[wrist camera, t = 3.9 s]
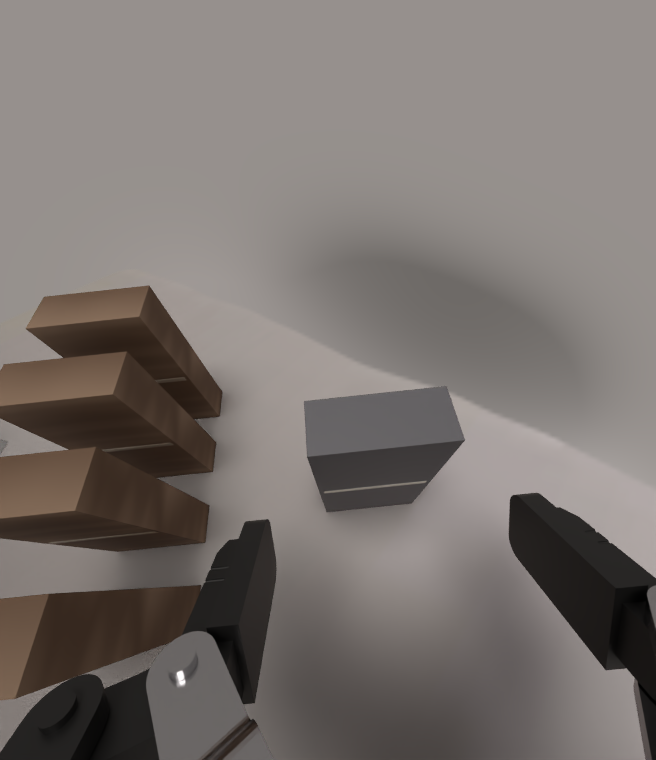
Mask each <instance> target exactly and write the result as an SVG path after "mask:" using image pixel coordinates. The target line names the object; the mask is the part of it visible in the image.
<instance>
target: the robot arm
mask: <svg viewBox="0 0 656 760" xmlns="http://www.w3.org/2000/svg"><path fill="white" fill-rule="evenodd" d="M509 540H510V544H511V547H512V550H513V552H514V554H515V555H516V557H517V558H518V560H519V561H520V562H521V563H522V565H523V566H524V567H525V569H526V570H527V571H528V572H529V574H530V575H531V576H532V577H533V579H534V580H535V581H536V582H537V584H538V585H539V586H540V588H541V589H542V590H543V591H544V593H545V594H546V595H547V596H548V598H549V599H550V600H551V601H552V603H553V604H554V605H555V607H556V608H557V609H558V610H559V612H560V613H561V614H562V615H563V617H564V618H565V619H566V620H567V622H568V623H569V624H570V626H571V627H572V628H573V629H574V631H575V632H576V633H577V634H578V636H579V637H580V638H581V639H582V641H583V642H584V643H585V645H586V646H587V647H588V648H589V650H590V651H591V652H592V653H593V655H594V656H595V657H596V658H597V660H598V661H599V662H600V664H601V665H602V666H603V667H604V669H605V670H613V669H624V668H627V669H628V670H629V672H630V673H631V674H632V675H633V676H634V677H635V679H634V695H635V701H636V707H637V712H638V718H639V724H640V730H641V736H642V742H643V748H644V753H645V759H646V760H656V578H655V577H653V576H652V575H651V574H650V573H648V572H647V571H646V570H645V569H643V568H642V567H641V566H640V565H638V564H637V563H636V562H635V561H633V560H632V559H631V558H630V557H628V556H627V555H626V554H625V553H623V552H622V551H621V550H620V549H618V548H617V547H616V546H615V545H613V544H612V543H609V541H608V540H607V539H606V538H605V537H603V536H602V535H601V534H600V533H598V532H597V533H596V531H595V529H594V528H592V527H591V526H590V525H589V524H587V523H586V522H585V521H584V520H582V519H581V518H580V517H578V516H576V515H574V514H572V513H570V512H568V511H566V510H564V509H562V508H560V507H559V508H556V507H555V506H554V505H553V504H551V503H550V502H549V501H548V500H547V499H546V498H544V497H543V496H542V495H541V494H539V493H530V494H520V495H513V496H512V497H511V499H510V515H509ZM275 581H276V557H275V551H274V544H273V538H272V532H271V526H270V522H269V520H268V519H266V520H256V521H246V522H245V523H244V526H243V528H242V531H241V534H240V537H239V539H235V540H229V541H228V542H227V543H226V544H225V545H224V546H223V547H222V548H221V549H220V550H219V552H218V553H217V555H216V557H215V559H214V561H213V564H212V566H211V570H210V571H209V573H208V575H207V578H206V582H205V583H204V585H203V587H202V589H201V591H200V594H199V596H198V598H197V601H196V603H195V605H194V608H193V610H192V612H191V615H190V617H189V619H188V622H187V624H186V626H185V628H184V631H183V633H182V635H181V636H180V637H178V638H176V639H175V640H173V641H172V642H171V643H169V644H168V645H167V646H166V647H165V648H164V649H163V650H162V651H161V652H160V653H159V655H158V656H157V657H156V659H155V660H154V662H153V664H152V665H151V667H150V669H148V670H146V671H144V672H142V673H140V674H138V675H136V676H133V677H131V678H129V679H126V680H124V681H122V682H119V683H117V684H115V685H112V686H110V687H108V688H105V689H104V687H103V684H102V681H101V679H100V678H99V677H97V676H95V675H91V674H86V675H80V676H77V677H74V678H72V679H70V680H68V681H66V682H64V683H62V684H61V685H59V686H57V687H56V688H55V689H53V690H52V691H50V692H49V693H48V694H47V695H46V696H44V697H43V698H42V699H41V700H40V701H39V702H38V703H37V704H36V705H35V706H34V707H33V708H32V709H31V710H30V712H29V713H28V714H27V715H26V717H25V718H24V719H23V721H22V722H21V723H20V725H19V726H18V728H17V729H16V731H15V732H14V734H13V735H12V736H11V738H10V739H9V741H8V742H7V744H6V745H5V747H4V748H3V750H2V751H1V752H0V760H274V759H273V757H272V755H271V752H270V750H269V748H268V746H267V744H266V741H265V739H264V737H263V735H262V733H261V731H260V729H259V727H258V725H257V723H256V722H255V720H254V719H252V720H250V718H249V716H248V714H247V712H246V710H245V708H244V705H243V704H251V703H255V698H256V692H257V686H258V680H259V675H260V669H261V663H262V657H263V651H264V646H265V640H266V634H267V628H268V622H269V616H270V611H271V605H272V599H273V593H274V587H275Z"/></svg>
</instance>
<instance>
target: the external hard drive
mask: <svg viewBox="0 0 656 760" xmlns="http://www.w3.org/2000/svg"><path fill="white" fill-rule="evenodd" d="M6 444H7V442H5V441H3V440H0V454H1V452H2V451H3V449H4V447H5V446H6Z"/></svg>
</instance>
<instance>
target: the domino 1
mask: <svg viewBox="0 0 656 760" xmlns="http://www.w3.org/2000/svg"><path fill="white" fill-rule="evenodd" d="M26 329H27V330H28V331H29V332H31V333H32V334H33V335H34V336H36V337H37V338H38V339H40V340H41V341H42V342H44V343H45V344H46V345H47V346H49V347H50V348H51V349H53V350H54V351H55V352H57V353H58V354H59V355H60V356H62V357H63V358H70V357H80V356H89V355H99V354H108V353H117V352H128V353H129V354H130V355H131V356H132V357H133V358H134V359H135V360H136V361H137V362H138V363H139V364H140V365H141V366H142V367H143V368H144V369H145V370H146V371H147V373H148V374H149V375H150V376H151V377H152V378H153V379H154V380H155V381H156V382H157V383H158V384H159V385H160V386H161V387H162V388H163V389H164V390H165V391H166V392H167V393H168V394H169V395H170V396H171V397H172V398H173V399H174V400H175V401H176V402H177V403H178V404H179V405H180V406H181V407H182V408H183V409H184V410H185V411H186V412H187V413H188V414H189V415H190V416H191V417H192V418H193V419H200V418H209V417H218V416H220V408H221V399H222V391H221V390H220V388H219V387H218V385H217V384H216V382H215V381H214V379H213V378H212V376H211V375H210V374H209V372H208V371H207V369H206V368H205V366H204V365H203V363H202V362H201V360H200V359H199V357H198V356H197V355H196V353H195V352H194V350H193V349H192V347H191V346H190V344H189V343H188V341H187V340H186V339H185V337H184V336H183V334H182V333H181V331H180V330H179V328H178V327H177V325H176V324H175V322H174V321H173V320H172V318H171V317H170V315H169V314H168V312H167V311H166V309H165V308H164V306H163V305H162V304H161V302H160V301H159V299H158V298H157V296H156V295H155V293H154V292H153V290H152V289H151V287H150V286H141V287H132V288H123V289H113V290H104V291H95V292H85V293H76V294H66V295H57V296H48V297H44V298H43V300H42V301H41V303H40V305H39V306H38V308H37V310H36V312H35V313H34V315H33V317H32V319H31V320H30V322H29V324H28V325H27V327H26Z"/></svg>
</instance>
